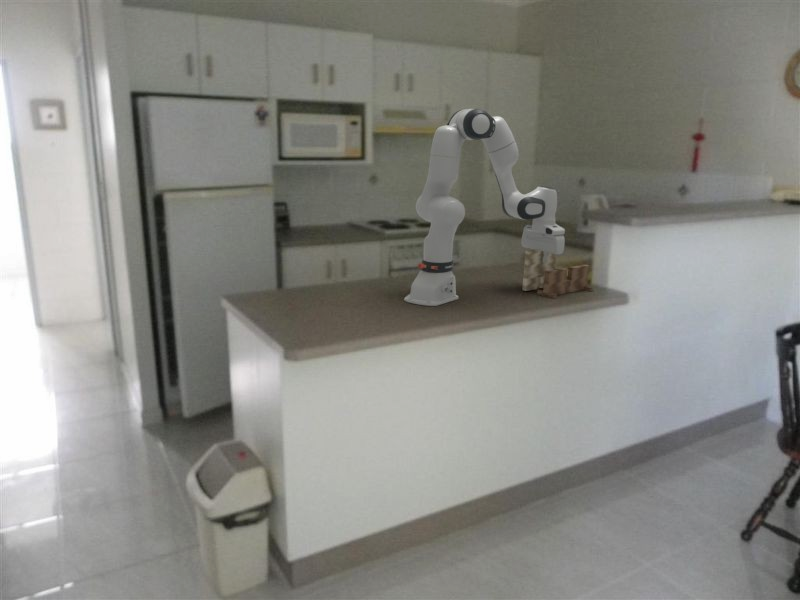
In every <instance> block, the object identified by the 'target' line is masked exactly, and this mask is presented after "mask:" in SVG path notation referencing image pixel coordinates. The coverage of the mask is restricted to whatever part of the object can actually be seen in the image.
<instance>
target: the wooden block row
mask: <svg viewBox="0 0 800 600" xmlns="http://www.w3.org/2000/svg"><path fill="white" fill-rule="evenodd" d="M589 275H590V265H589V264H581V265H576V266H575V265H574V266H569V267H568V269H567V268H563V267H562V268H555V270H548V271H545V276H544V288H542V289H538V290H537V289H536V290H537V292H536V294H537V295H538V296H539V295H540V296H543V297H545V298H549V299H552V300H554V299H557V296H558V295H563V294H569V293H574V292H579V291H587V292H593V291H594V287H593V286H590V285H588V284H589Z"/></svg>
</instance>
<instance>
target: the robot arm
mask: <svg viewBox="0 0 800 600" xmlns="http://www.w3.org/2000/svg"><path fill="white" fill-rule="evenodd" d="M515 139H516V138H515V137H514V134H513V132H512V131H511V129H510V126H509V125H508V123H507V121H506V120H505V119H504V117H501V116H499V115H496V116H491V114H489V113H488V112H487V111H485V110H484V109H481V108H471V107H470V108H465V109H461V110H458V111H456V112H454V113H453V114H452V115H451V117H450V119H449V121H448V122H447V123H446V125H441V126H439V127H438V128H437V129H435V132H434V134H433V138H432V143H431V147H430V152H429V153H430V154H429V164H428V165H429V166H428V171H427V172H428V173H427V178H426V181H425V184H424V188H423V190H422V193H421V195H420V196H419V197H418V198H417V199H416V201H415V212H416V213H417V215H418V216H419V217H420V218H421V219H422V220H423V221H425V222H428V223H430V227H429V231H428V234H427V235H426V236H425V238H424V239H423V258H422V260H421V262H418V263H417V268H418V269H420V271H419V273H418V274H417V276H416V277H415V279H414V280H413V282H412V283H411V286H410V293H409V294H407V295H406V296H405V297H403V298H404V299H403V301H404V302H406V303H409V304H414V305H419V306H420V305H421V306H426V307H427V306H429V307H437V306H440V305H445V304H446V303H450V302H453V301H456V300H459V299H460V298H459V295H457V291H456V290H457V288H456V287H457V286H456V284H457V282H456V276H455V275H454V273H453V269H454V260H453V251H454V250H453V247H454V239H455V236H456V232H457V229H458V228H459V225H460V224H461V223H462V222H463V221H464V219H465V216H466V208H465V206H464V204H463V202H461V201H460V200H459V199H457V198H455V197H454V196H451V195H450V193H451V190H452V187H453V186H454V184H456V182H457V181H458V179H459V169H460V161H461V153H462V152H461V151H462V146H463V144H464V143H465V141H474V140H475V141H476V140H481V142H482V143H483V144H484V148H485V149H486V152H487V155H488V157H489V160H490V162H491V165H492V168H493V172H494V176H495V178H496V181H497V184H498V188H499V191H500V194H501V207H502V211H503V213H504V214H505V215H506V216H508V217H509V218H515V219H520V220H523V221H528V220H529V221H530V220H532V224H531V225H530V224H526V225H525V226H524V227H523V232H522V235H521V240H520V244H521V247H522V248H527V249H529V250H540V251H543V254H544V256H543V258H541V262H543V263H546V261H547V257H548V256H549V254H550V253H552V254H556V255H562V254H563V253H564V250H565V244H566V242H565V236H564V235H565V234H566V233H565V232H566V229H565V228H564V227H562V226H560V225H558V224H557V223H556V213H557V208H558V194H557V190H556V189H555V188H553V187H550V186H549V187H548V186H544V185H539V186H537V187H536V188H535V189H533V190H531V191H530V192H528V193H525V194H523V193H521V192H520V191H519V189H518V188H517V185H516V181H515V179H514V176H513V173H512V172H513V171H512V170H513V166H515V165H516V163H517V162H518V160H519V157H520V153H519V148H518V143H517V142H516V140H515Z"/></svg>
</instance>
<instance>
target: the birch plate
mask: <svg viewBox="0 0 800 600" xmlns="http://www.w3.org/2000/svg"><path fill="white" fill-rule="evenodd" d="M524 251H525V254H524V265H523V266H524V267H523V277H522V279H523V280H522V291H524V292H528V291H534V290H537V289H538V288H541V289H543V288H544V276H545V271H548V270H555V269H556V262H557V254H552V253H550V254H549V256H548V257H547V261H546V263H543V262H541V258H543V256H544V254H543V251H540V250H533V249H529V250H524ZM538 283H539V284H538Z"/></svg>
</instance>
